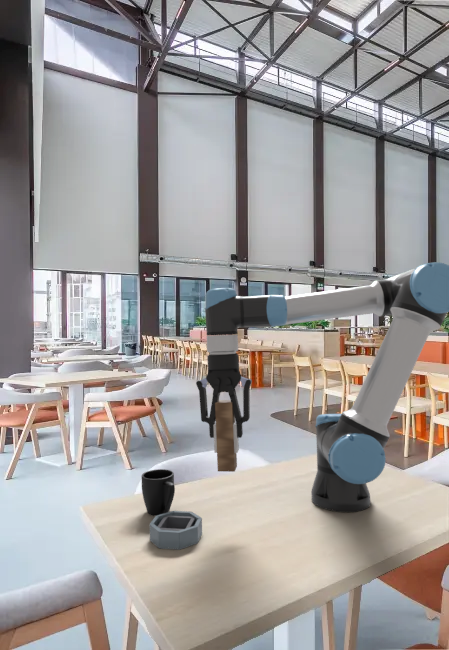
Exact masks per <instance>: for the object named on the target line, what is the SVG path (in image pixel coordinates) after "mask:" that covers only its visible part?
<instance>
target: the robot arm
mask: <svg viewBox="0 0 449 650" xmlns="http://www.w3.org/2000/svg"><path fill="white" fill-rule="evenodd" d="M204 306H205V309H204V312H205V327H206V328H205V329H206V330H205V331H206V352H207V353H209V354H208V355H207V374H206V376H205V378H203V379H199V380H197V381H196V382H195V385H196V388H197V389H198V392H199V393H198V394H199V395H198V396H199V407H200V420H201V422H203V423H207V424H208V425H209V428H208V429H209V430H208V431H209V437H210V438H213V444H214V445H213V447H214V453H216V454H217V439H216V414H215V403H216V402H218V401H219V400H220V395H221V393H223V392H224V393H228V396H229V400H231V402H232V406H233V412H234V416H235V423H234V424H233V433H234V453H236V454H237V453H239V450H240V447H239V446H240V445H239V444H240V442H239V438H240V439H241V438H242V437H243V435H244V434H243V423H245V422H248V421H249V420H250V417H251V416H250V407H251V406H250V403H251V401H250V398H251V397H250V396H251V395H250V392H251V391H250V389H251V386H252V382H253V380H252V379H251V378H247V377H244V376H242V373H241V371H240V358H239V356H240V355H239V353H237V352H238V351H239V338H238V336H239V335H238V329H239V328H255V329H257V330H258V329H265V328H271V327H272V328H274V327H275V328H276V327H282V326H286V325H292V324H294V325H295V324H301V323H308V322H316V321H317V322H318V321H323V320H332V319H333V320H334V319H339V318H340V319H341V318H346V317H347V318H348V317H355V316H364V315H370V314H374V315H376V316H377V317H383V316H384V317H387V316H392V321H391V322H390V325H389V327H388V330H387V332H386V334H385V336H384V338H383V340H382V342H381V344H380V346H379V348H378V351H377V352H376V355H375V357H374V359H373V362H372V364H371V366H370V368H369V370H368V372H367V375H366V376H365V379H364V381H363V383H362V384H361V385H362V386H361V387H360V389H359V392H358V394H357V396H356V398H355V400H354V403H353V404H352V406H351V408H350V409H348V410H344V411H342V413H323V414H318V415H317V416H316V417H315V418H316V420H315V425H314V426H315V430H316V431H315V432H316V461H317V462H316V463H317V464H316V465H317V467H316V469H317V470H316V475H315V477H314V479H313V480H314V481H313V483H312V484H313V485H312V487H311V494H310V495H311V502H312V503H313V504H314V505H316V506H317V507H319V508H321V509H324V510H327V511H332V512H338V513H340V512H341V513H351V512H352V513H353V512H355V513H356V512H360V511H363V510H366V509H368V508H369V507H370V506H371V494H370V493H371V492H370V490H369V487H368V485H367V483H371V482H373V481H375V480H376V479H377V478H378V477H379V476H380V475H382V473H383V471H384V468H385V465H386V454H385V448H386V446H387V443H388V441H389V440H390V437H391V436H390V435H391V434H390V432H389V430H388V424H389V422H390V420H391V418H392V415H393V413H394V411H395V409H396V406H397V405H398V402H399V401H400V398H401V397H402V396H401V395H402V394H403V392H404V390H405V387H406V385H407V382H408V381H409V379H410V377H411V374H412V372H413V370H414V368H415V366H416V363H417V361H418V359H419V357H420V355H421V354H422V353H421V352H422V351H423V348H424V346H425V344H426V342H427V340H428V338H429V336H430V333H432V332H434V331H437V330H440V328H441V327H442V324H443V322H444V320H445V318H446V316H447V315H448V313H449V264H446V263H445V262H438V261H436V262H435V261H434V262H425V263H422V264H420V265H418V266H416V267H415V268H412V269H410V270H407V271H404V272H401V273H400V274H397V275H394V276H391V277H388V278H384V279H380V280H374V281H373V282H372V283H371V284H369V285H364V286H363V285H362V286H354V287H347V288H340V289H334V290H333V289H332V290H325V291H318V292H310V293H303V294H297V295H296V294H295V295H289V296H284V295H283V294H280V295H279V294H269V295H268V294H267V295H266V294H265V295H253V296H252V295H248V296H243V295H242V296H241V295H238V294H237V291H236V289H235V288H230V287H221V288H211V289H208V291H206V293H205V305H204ZM240 382H241V386H242V387H243V389H242V390H243V392H242V393H243V394H242V395H243V396H242V397H243V398H242V399H243V400H242V402H243V403H242V404H243V410H242V412H243V413H241V409H240V404H239V401H238V396H237V391H236V388H237V386H238V385H239V384H240ZM207 383H208V384H209V386H211V388H212V400H211V404H210V411H208V399H207V397H208V396H207V386H208V384H207ZM209 412H210V413H209ZM242 414H243V415H242Z"/></svg>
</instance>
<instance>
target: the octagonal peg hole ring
mask: <svg viewBox="0 0 449 650" xmlns="http://www.w3.org/2000/svg"><path fill="white" fill-rule="evenodd" d="M202 535H203V518H202V517H201V516H199V515H198V514H196V513H194V512H193V511H187V510H184V511H183V510H171V511H169V512H167V513H164V514H160V515H157V516H154V517H153V519H152V520H151V521H150V523H149V541H150V542H151V543H152V544H154V545H155V546H156V547H157V548H158V549H164V550H179V551H180V550H182V549H185V548H187V547H191V546H194V545H197V544H198V543H199V541H200V539H201V537H202Z"/></svg>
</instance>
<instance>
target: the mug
mask: <svg viewBox="0 0 449 650" xmlns="http://www.w3.org/2000/svg"><path fill="white" fill-rule="evenodd" d="M175 491H176V488H175V473H174V471H172V470H171V469H152V470H147V471H145V472H143V473H142V474H141V492H142V498H143V501H144V505H145V508H146V511H147V514H148V515H149V516H153V517H155V516H157V515H160V514H164V513H167V512H170V509H171V506H172V503H173V500H174V496H175V494H176V492H175Z"/></svg>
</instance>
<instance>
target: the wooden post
mask: <svg viewBox="0 0 449 650" xmlns="http://www.w3.org/2000/svg"><path fill="white" fill-rule="evenodd" d="M215 414H216V421H215V423H216V439H217V453H216V458H217V472H226V473H227V472H236V469H237V467H238V461H237V460H238V458H237V453H234V433H233V424H234V423H236V420H235V416H234V412H233V406H232V402H231V399H228V400H227V399H226V400H225V399H224V400H223V399H222V400H221V399H219V401H218V402H216V403H215Z"/></svg>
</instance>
